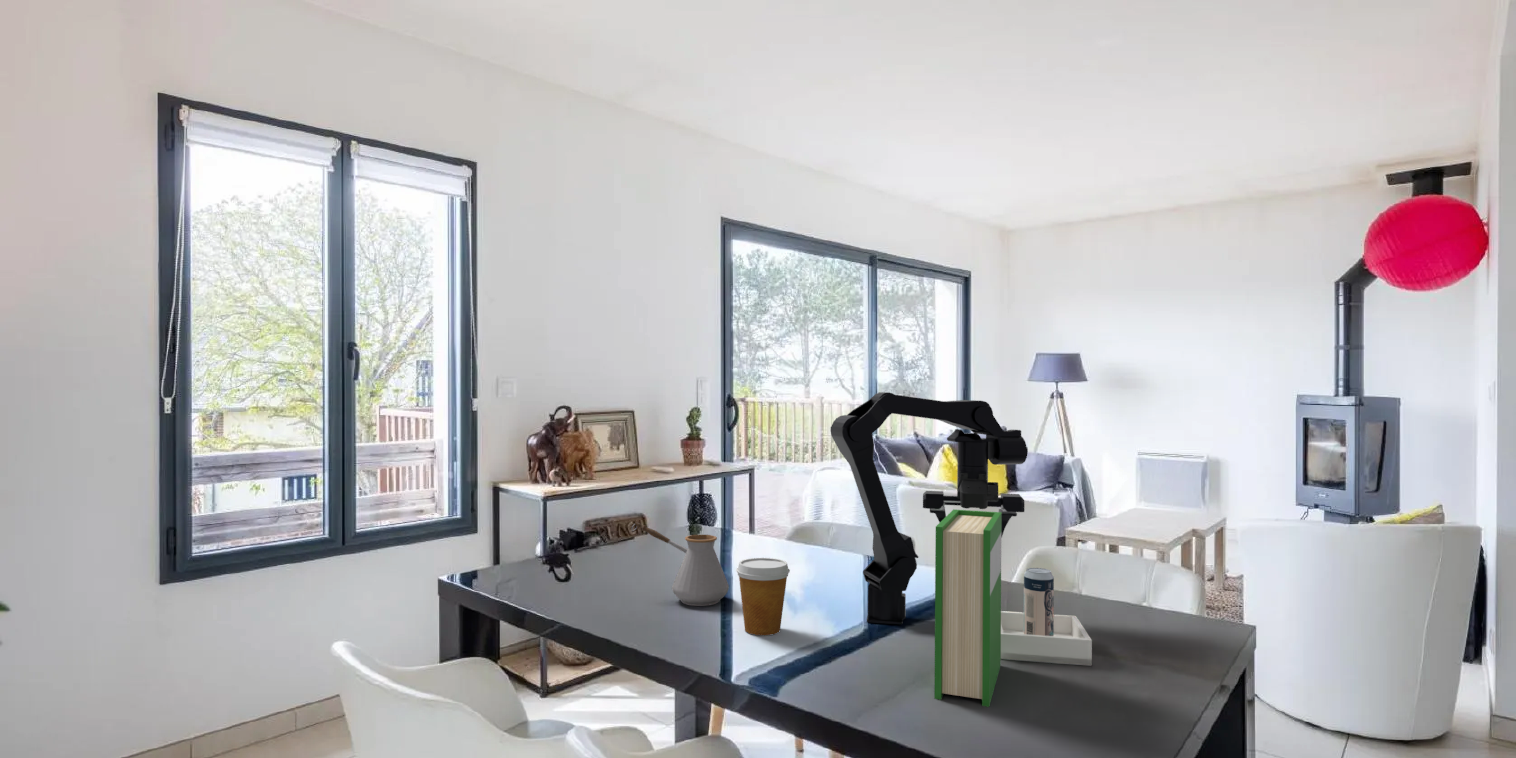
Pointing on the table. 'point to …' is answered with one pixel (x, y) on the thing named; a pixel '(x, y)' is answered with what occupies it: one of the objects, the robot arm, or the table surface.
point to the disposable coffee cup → (762, 593)
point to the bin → (1045, 641)
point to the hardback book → (968, 604)
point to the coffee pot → (696, 570)
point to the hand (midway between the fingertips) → (972, 546)
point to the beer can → (1038, 602)
